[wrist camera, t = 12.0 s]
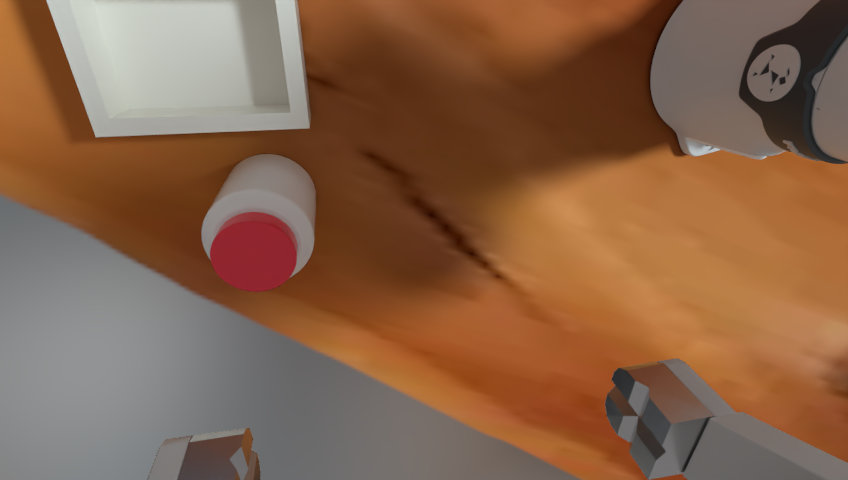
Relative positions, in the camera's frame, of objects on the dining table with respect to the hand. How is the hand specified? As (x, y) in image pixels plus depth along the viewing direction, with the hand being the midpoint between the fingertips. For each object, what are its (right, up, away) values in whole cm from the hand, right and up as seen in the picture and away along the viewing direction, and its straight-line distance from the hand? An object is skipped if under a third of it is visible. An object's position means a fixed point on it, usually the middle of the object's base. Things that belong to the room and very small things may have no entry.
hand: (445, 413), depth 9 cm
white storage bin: (-17, +18, +22) cm, 33 cm away
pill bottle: (-14, +8, +29) cm, 33 cm away
